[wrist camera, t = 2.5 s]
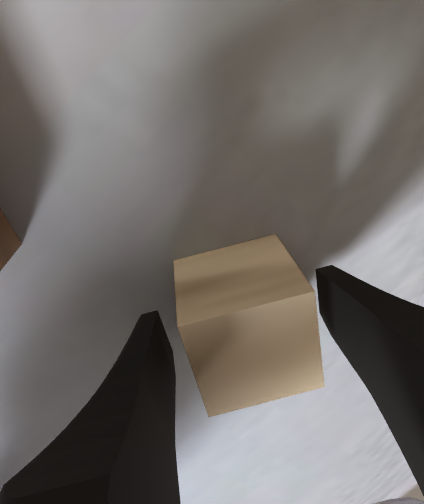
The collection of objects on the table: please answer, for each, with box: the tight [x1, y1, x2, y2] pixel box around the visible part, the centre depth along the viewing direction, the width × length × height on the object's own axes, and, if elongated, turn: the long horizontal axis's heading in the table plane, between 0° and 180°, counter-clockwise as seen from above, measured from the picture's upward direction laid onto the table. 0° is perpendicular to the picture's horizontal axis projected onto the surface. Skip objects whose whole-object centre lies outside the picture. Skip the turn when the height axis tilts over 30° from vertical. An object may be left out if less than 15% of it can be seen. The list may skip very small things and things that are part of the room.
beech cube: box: [173, 234, 324, 417], centre depth 13 cm, size 4×4×4 cm
